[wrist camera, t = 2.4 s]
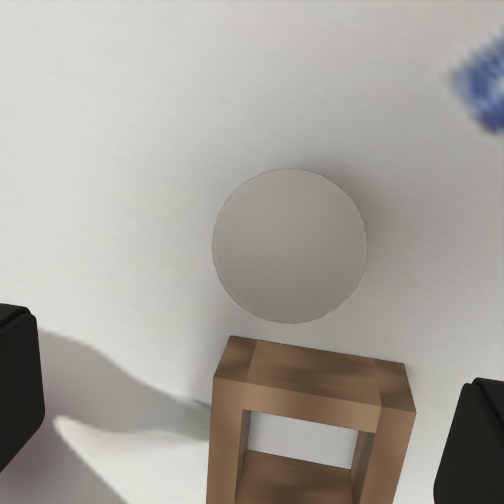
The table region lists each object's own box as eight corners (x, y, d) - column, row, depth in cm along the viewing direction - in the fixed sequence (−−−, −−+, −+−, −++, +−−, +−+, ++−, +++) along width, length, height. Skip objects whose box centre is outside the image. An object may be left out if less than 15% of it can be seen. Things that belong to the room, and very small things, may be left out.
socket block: (403, 363, 28) (416, 412, 23) (372, 494, 31) (378, 556, 27) (230, 335, 29) (213, 377, 25) (221, 464, 33) (204, 518, 29)
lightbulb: (311, 270, 26) (297, 384, 16) (228, 209, 26) (161, 287, 16) (380, 189, 24) (415, 263, 14) (290, 121, 24) (259, 146, 14)
